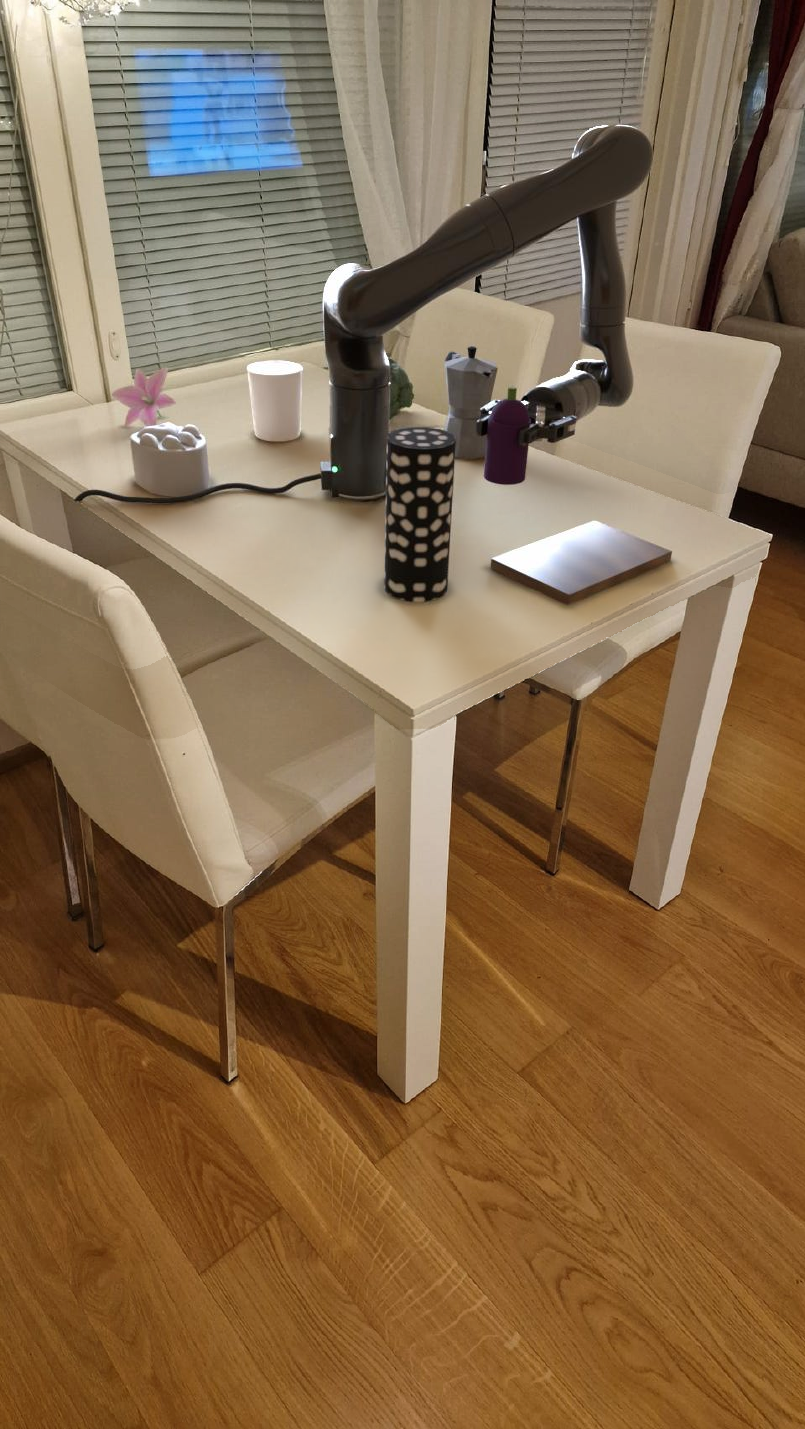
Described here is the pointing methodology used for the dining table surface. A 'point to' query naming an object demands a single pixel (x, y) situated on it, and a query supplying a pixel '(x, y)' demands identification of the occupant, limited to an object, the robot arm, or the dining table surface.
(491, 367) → the coffeepot
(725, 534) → the dining table surface
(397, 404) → the vegetable
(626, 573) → the cutting board
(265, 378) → the candle holder
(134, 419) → the lily
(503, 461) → the eggplant
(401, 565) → the spotted tube
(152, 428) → the lumpy-topped squat cylinder
